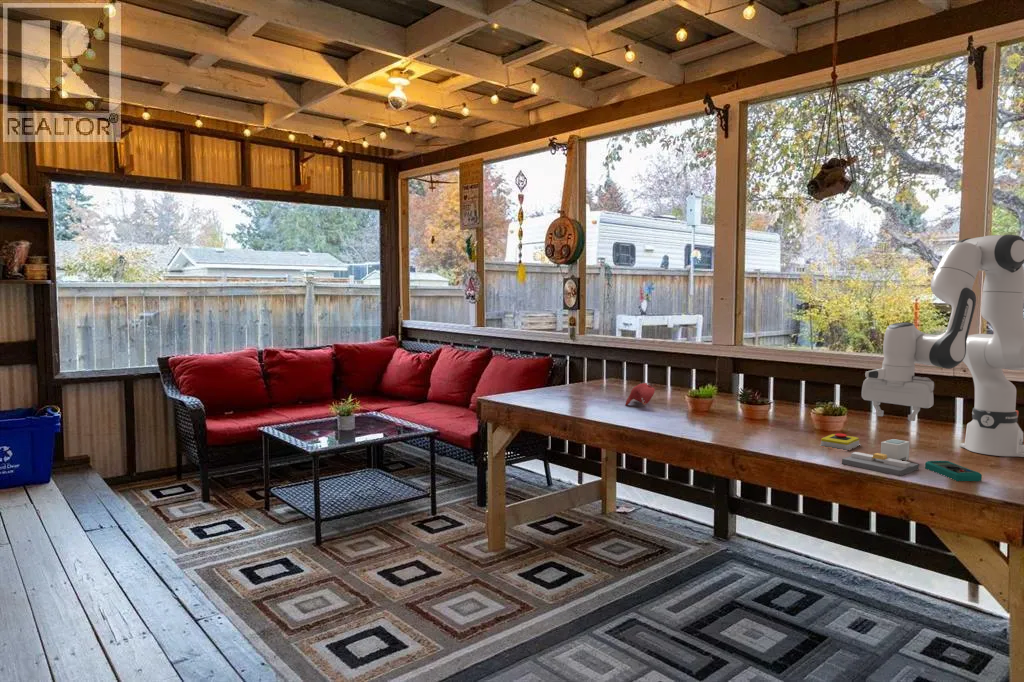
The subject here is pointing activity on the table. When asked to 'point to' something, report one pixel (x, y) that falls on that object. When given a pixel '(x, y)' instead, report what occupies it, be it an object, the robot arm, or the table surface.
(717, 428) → the table surface
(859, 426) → the table surface
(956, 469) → the digital multimeter
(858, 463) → the rail board
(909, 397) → the robot arm
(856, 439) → the emergency button
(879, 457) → the latch pin
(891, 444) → the block
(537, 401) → the table surface
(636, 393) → the decorative bird sculpture
